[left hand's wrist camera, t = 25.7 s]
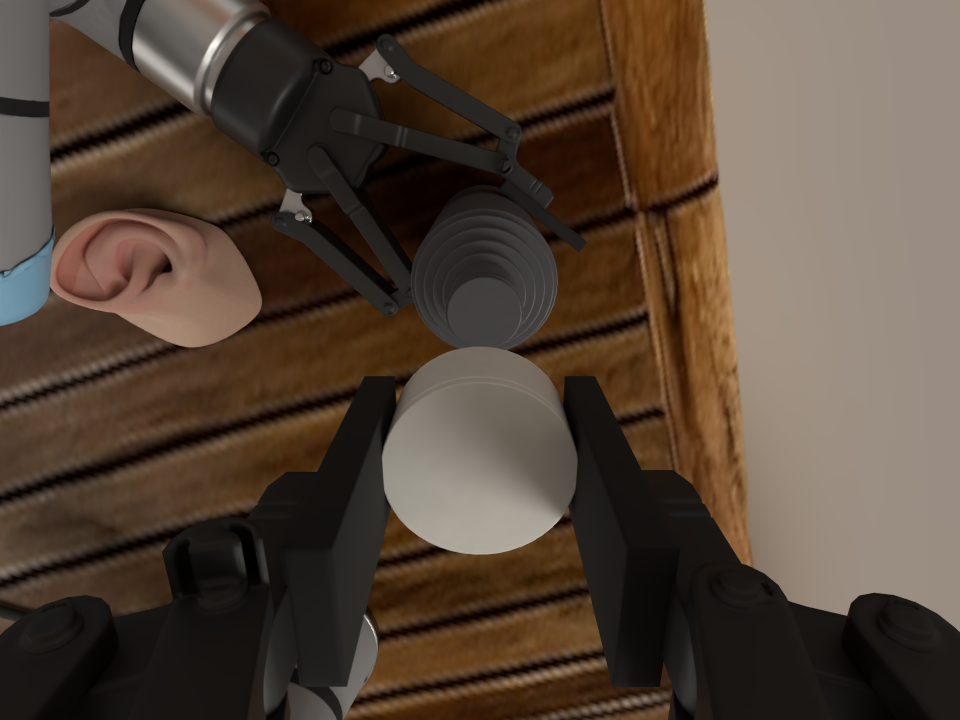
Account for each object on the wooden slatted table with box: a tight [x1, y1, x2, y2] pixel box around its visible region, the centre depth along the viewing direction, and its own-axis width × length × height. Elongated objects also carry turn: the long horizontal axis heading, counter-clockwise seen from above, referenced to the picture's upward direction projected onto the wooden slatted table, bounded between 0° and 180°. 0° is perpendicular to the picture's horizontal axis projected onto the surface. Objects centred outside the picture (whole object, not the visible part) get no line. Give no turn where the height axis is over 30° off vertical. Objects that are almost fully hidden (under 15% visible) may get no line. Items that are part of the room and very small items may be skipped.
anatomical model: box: [50, 208, 262, 347], centre depth 43 cm, size 13×4×12 cm
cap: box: [382, 347, 578, 554], centre depth 14 cm, size 4×4×2 cm
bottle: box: [411, 185, 558, 350], centre depth 34 cm, size 7×7×22 cm
